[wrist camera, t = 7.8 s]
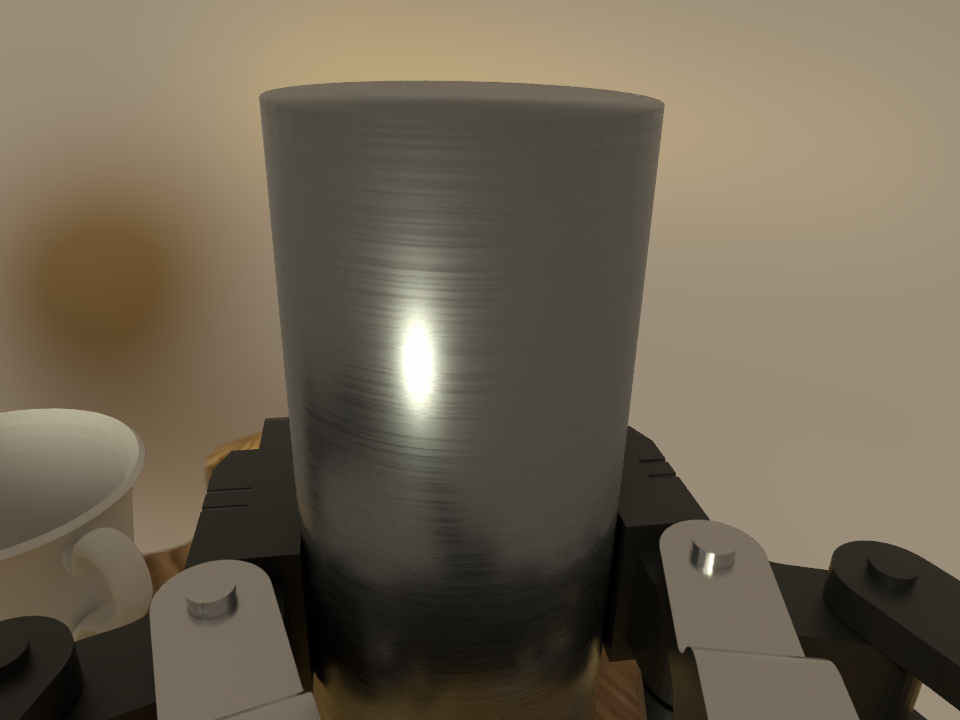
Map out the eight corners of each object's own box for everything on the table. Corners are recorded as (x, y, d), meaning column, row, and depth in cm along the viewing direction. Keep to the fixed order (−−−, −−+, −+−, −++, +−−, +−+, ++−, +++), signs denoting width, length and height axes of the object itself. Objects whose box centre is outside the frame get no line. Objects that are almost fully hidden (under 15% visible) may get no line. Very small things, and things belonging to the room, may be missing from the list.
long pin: (302, 1054, 13) (167, 104, 6) (391, 829, 16) (361, 76, 10) (538, 1146, 12) (649, 130, 5) (579, 885, 15) (674, 89, 9)
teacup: (30, 871, 26) (-47, 657, 22) (-176, 694, 33) (-264, 504, 29) (275, 647, 36) (253, 468, 32) (77, 544, 43) (38, 385, 39)
